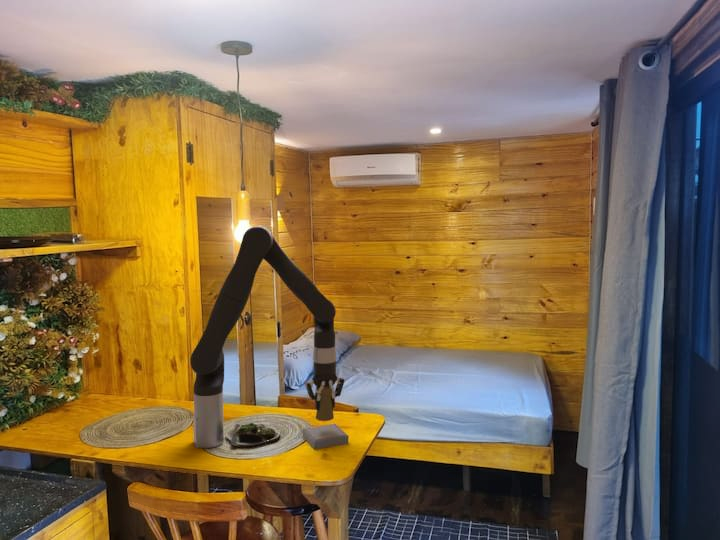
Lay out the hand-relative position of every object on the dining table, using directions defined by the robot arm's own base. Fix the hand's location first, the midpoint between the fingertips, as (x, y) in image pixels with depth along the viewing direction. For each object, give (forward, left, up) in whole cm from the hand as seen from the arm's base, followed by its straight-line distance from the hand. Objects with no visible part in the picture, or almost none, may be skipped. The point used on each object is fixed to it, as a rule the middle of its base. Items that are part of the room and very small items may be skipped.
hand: (324, 409), depth 182 cm
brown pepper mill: (0, 0, -3) cm, 3 cm away
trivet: (0, 0, -10) cm, 10 cm away
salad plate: (-22, +11, -11) cm, 27 cm away
